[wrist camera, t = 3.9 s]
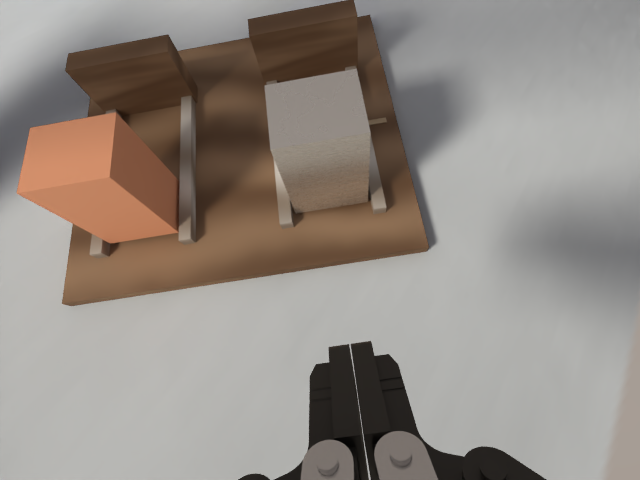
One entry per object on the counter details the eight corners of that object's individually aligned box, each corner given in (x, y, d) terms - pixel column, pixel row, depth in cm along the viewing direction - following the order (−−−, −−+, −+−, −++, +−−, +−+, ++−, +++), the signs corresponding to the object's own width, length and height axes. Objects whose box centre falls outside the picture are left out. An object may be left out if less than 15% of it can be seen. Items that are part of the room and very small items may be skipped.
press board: (426, 251, 29) (445, 214, 22) (71, 306, 31) (-8, 286, 24) (369, 23, 39) (371, -49, 32) (100, 74, 40) (50, 15, 34)
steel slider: (367, 201, 30) (370, 132, 21) (295, 213, 30) (270, 149, 22) (357, 151, 31) (356, 68, 23) (289, 162, 32) (264, 85, 23)
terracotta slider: (178, 232, 30) (109, 177, 22) (110, 243, 31) (16, 193, 22) (179, 181, 32) (116, 112, 24) (115, 192, 33) (30, 127, 24)
